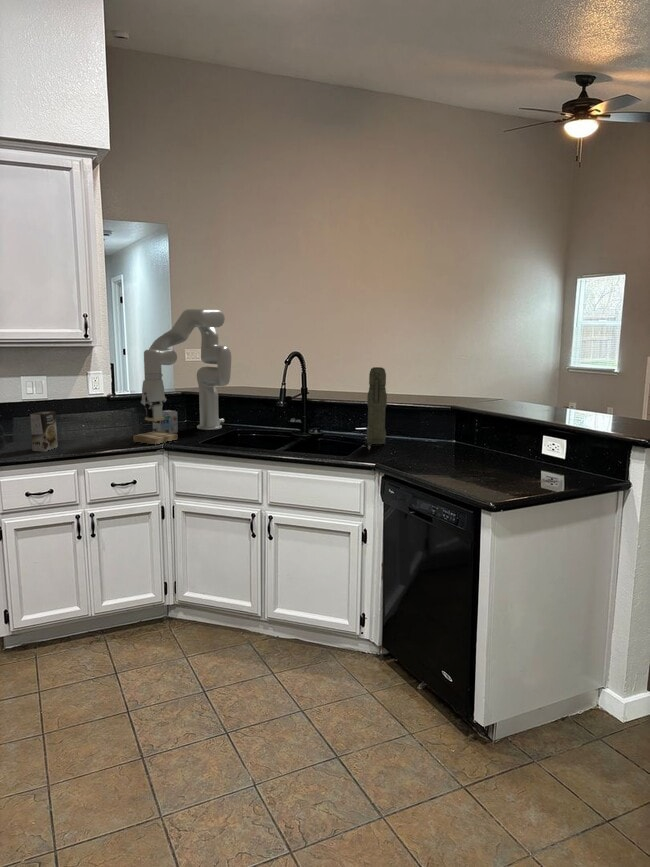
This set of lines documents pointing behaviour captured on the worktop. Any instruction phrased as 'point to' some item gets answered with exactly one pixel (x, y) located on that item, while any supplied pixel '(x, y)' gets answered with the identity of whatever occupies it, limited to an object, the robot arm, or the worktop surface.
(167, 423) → the light bulb box
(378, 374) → the thermos
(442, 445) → the worktop surface
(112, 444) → the worktop surface
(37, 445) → the coffee box
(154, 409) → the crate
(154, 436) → the dock
